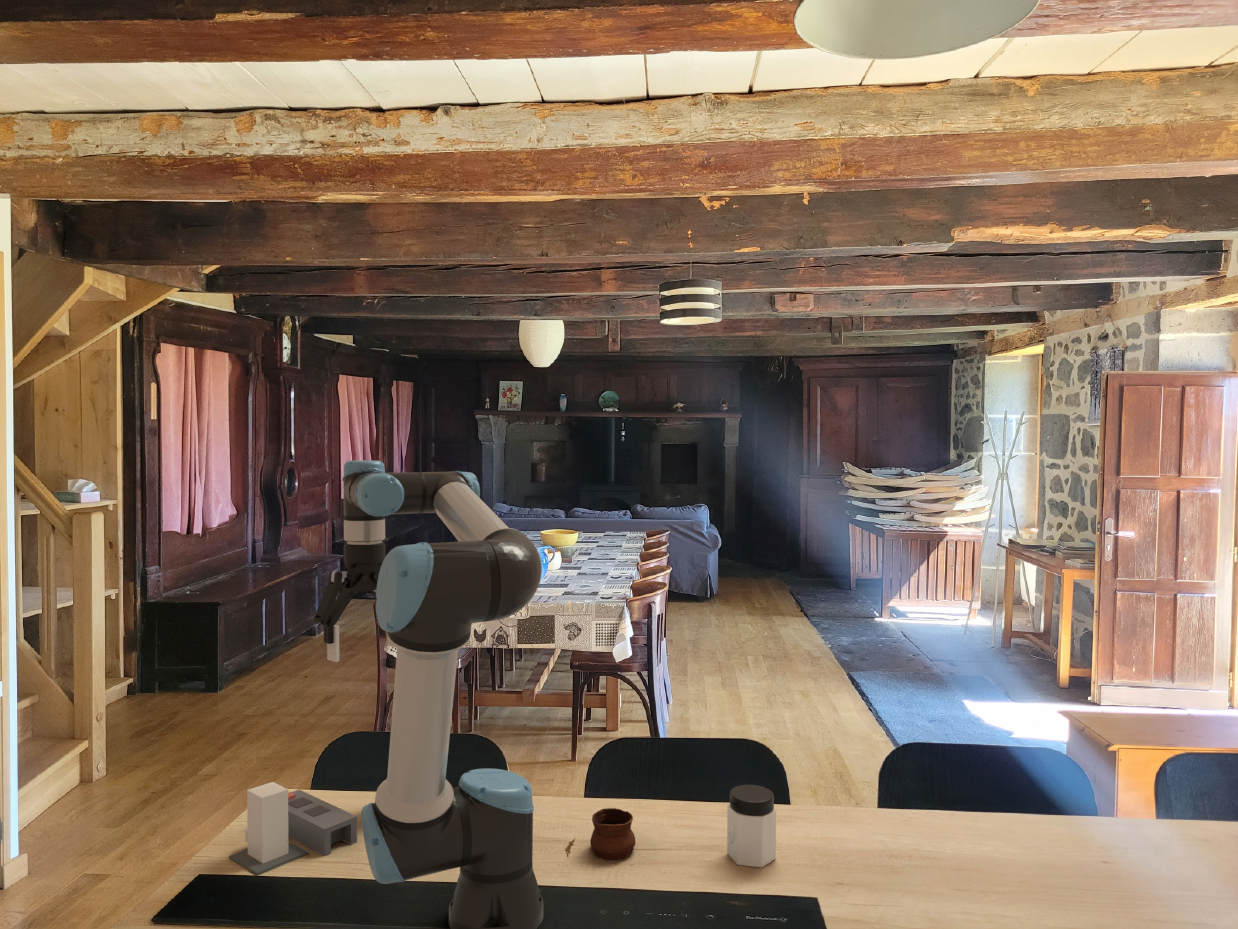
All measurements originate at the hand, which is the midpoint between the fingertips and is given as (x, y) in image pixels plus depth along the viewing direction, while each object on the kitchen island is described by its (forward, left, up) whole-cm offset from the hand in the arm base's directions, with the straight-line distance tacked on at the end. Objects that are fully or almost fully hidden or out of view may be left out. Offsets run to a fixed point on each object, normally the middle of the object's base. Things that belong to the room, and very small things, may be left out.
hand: (364, 653), depth 162 cm
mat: (+10, +14, -37) cm, 41 cm away
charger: (+12, +14, -36) cm, 41 cm away
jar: (-60, -42, -37) cm, 82 cm away
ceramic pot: (-38, -28, -37) cm, 60 cm away
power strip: (+12, +4, -37) cm, 39 cm away
